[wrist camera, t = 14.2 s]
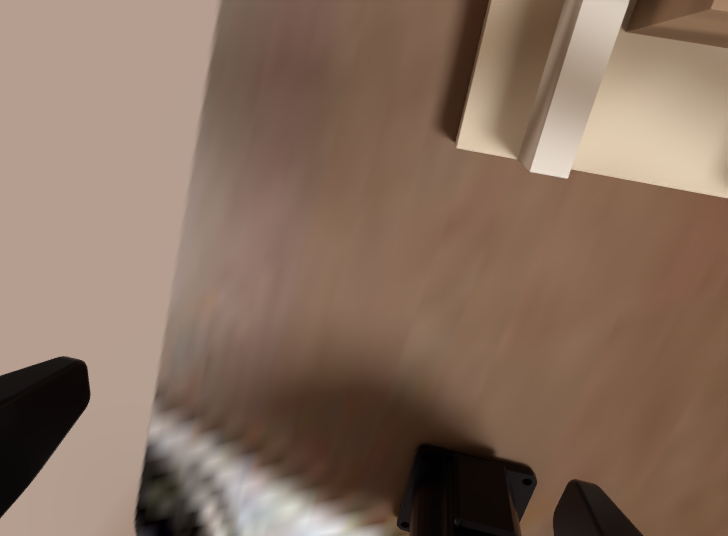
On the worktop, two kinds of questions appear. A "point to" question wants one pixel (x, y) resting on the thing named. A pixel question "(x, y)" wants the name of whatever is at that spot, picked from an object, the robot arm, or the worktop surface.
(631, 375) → the worktop surface
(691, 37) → the tan wooden block
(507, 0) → the lane tray
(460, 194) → the worktop surface
